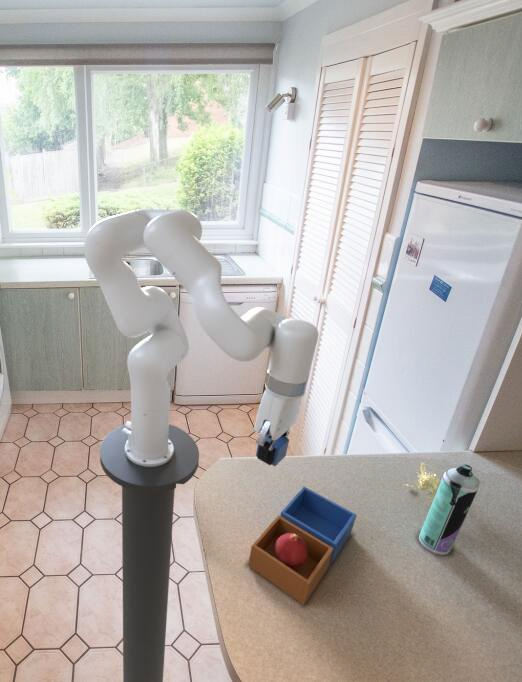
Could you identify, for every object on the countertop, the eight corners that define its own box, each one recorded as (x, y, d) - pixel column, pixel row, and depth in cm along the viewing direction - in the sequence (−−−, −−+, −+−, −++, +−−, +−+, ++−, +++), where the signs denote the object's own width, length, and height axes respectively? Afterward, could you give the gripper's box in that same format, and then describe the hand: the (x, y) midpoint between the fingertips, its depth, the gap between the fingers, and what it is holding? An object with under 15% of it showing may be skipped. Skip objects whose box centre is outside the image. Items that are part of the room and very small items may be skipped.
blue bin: (276, 531, 94) (280, 512, 92) (299, 505, 101) (303, 486, 98) (330, 565, 87) (336, 545, 84) (350, 534, 93) (356, 514, 91)
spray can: (451, 559, 88) (487, 481, 79) (418, 547, 91) (450, 470, 82) (449, 539, 92) (483, 463, 84) (418, 528, 95) (448, 453, 86)
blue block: (255, 455, 96) (259, 439, 94) (266, 446, 98) (269, 429, 96) (275, 466, 93) (278, 449, 91) (285, 456, 96) (289, 439, 94)
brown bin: (248, 565, 87) (251, 545, 84) (274, 534, 93) (278, 514, 91) (303, 605, 80) (309, 584, 77) (328, 568, 86) (333, 548, 84)
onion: (270, 549, 89) (275, 520, 86) (299, 552, 89) (307, 522, 85) (275, 575, 84) (281, 545, 81) (307, 578, 84) (315, 549, 80)
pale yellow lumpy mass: (465, 517, 101) (487, 483, 99) (434, 520, 93) (457, 484, 91) (417, 483, 110) (436, 452, 108) (384, 484, 102) (404, 450, 100)
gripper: (288, 360, 95) (274, 429, 103) (245, 390, 84) (233, 465, 93) (323, 373, 90) (305, 445, 99) (282, 407, 80) (266, 485, 88)
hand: (270, 454), depth 95 cm, fingers closed on blue block, 4 cm apart
